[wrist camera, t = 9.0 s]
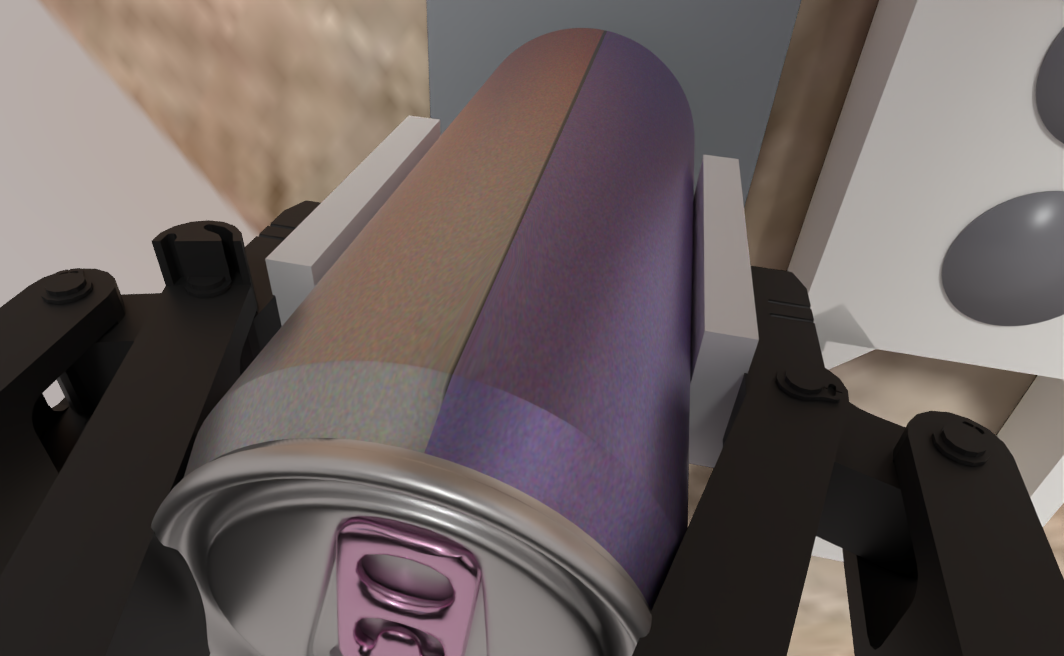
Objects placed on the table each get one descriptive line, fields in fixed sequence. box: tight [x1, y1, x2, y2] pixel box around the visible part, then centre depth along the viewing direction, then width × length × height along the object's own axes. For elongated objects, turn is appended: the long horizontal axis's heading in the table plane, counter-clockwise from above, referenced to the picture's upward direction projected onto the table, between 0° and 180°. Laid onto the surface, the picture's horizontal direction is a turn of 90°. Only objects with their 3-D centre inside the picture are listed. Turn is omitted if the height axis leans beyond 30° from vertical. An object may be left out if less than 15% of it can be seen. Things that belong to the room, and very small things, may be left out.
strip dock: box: [787, 0, 1064, 562], centre depth 18 cm, size 30×11×4 cm, turn 177°
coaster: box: [427, 0, 801, 206], centre depth 20 cm, size 10×10×1 cm
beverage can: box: [151, 28, 695, 656], centre depth 13 cm, size 6×6×15 cm
